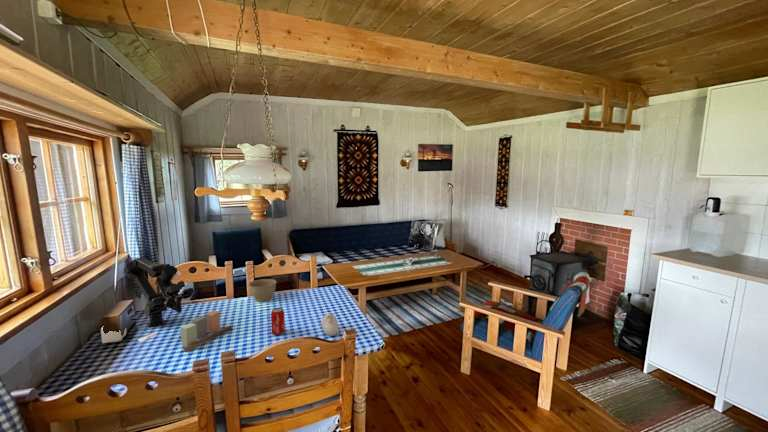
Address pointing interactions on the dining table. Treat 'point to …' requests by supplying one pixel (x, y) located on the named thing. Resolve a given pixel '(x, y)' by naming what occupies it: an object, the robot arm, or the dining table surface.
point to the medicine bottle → (112, 336)
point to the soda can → (277, 321)
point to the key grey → (200, 326)
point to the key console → (207, 338)
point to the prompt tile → (146, 337)
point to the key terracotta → (213, 321)
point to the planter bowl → (262, 289)
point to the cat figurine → (330, 324)
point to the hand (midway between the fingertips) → (180, 312)
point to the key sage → (188, 334)
